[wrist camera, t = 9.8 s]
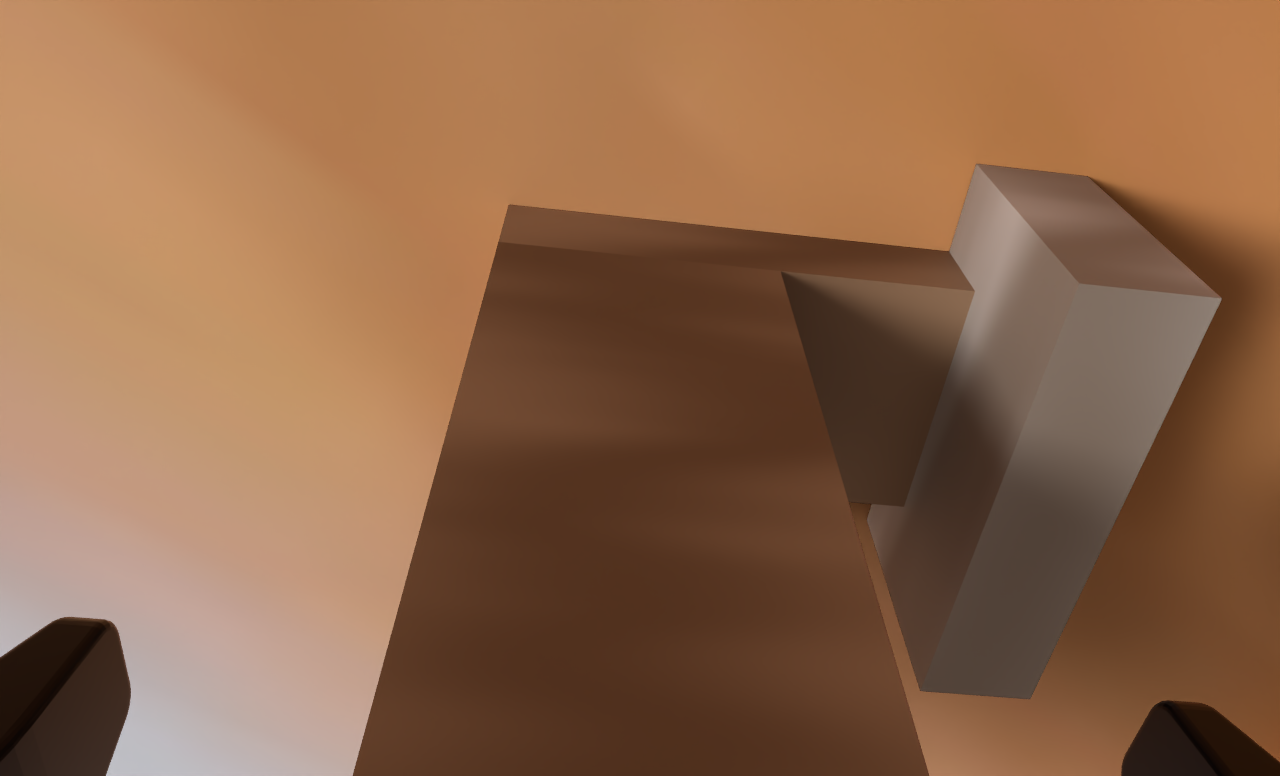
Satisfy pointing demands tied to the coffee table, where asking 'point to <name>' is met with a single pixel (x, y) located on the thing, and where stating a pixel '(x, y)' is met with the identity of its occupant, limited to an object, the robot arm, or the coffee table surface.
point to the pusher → (773, 484)
